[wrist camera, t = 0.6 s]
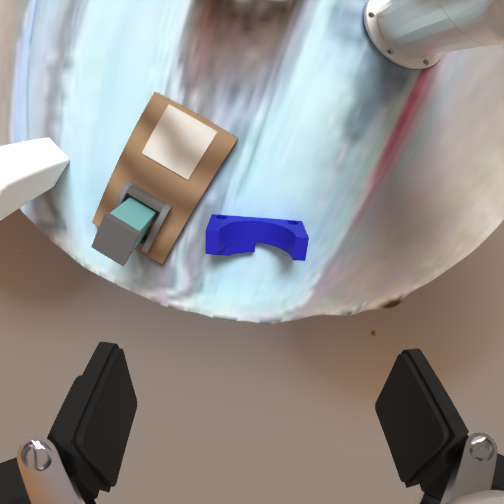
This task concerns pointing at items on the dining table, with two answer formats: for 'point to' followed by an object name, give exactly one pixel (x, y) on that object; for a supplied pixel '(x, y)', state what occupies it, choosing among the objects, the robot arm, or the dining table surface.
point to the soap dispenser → (28, 172)
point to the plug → (123, 229)
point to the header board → (166, 169)
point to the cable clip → (255, 235)
